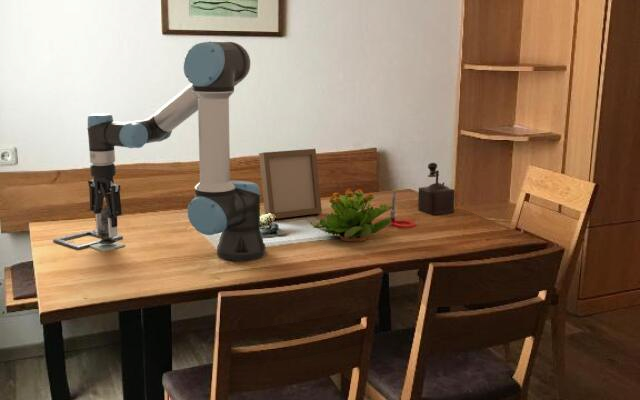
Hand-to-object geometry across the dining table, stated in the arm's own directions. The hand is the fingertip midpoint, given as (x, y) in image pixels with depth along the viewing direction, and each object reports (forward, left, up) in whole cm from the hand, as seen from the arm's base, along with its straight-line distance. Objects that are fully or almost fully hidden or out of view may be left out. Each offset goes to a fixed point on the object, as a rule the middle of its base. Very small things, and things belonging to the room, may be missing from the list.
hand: (107, 234), depth 224 cm
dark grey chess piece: (0, 0, -3) cm, 3 cm away
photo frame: (-16, -70, -4) cm, 72 cm away
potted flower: (-55, -60, -4) cm, 82 cm away
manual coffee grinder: (-55, -112, -4) cm, 126 cm away
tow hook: (-58, -85, -4) cm, 103 cm away
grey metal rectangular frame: (+11, 0, -4) cm, 12 cm away
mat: (0, 0, -4) cm, 4 cm away
